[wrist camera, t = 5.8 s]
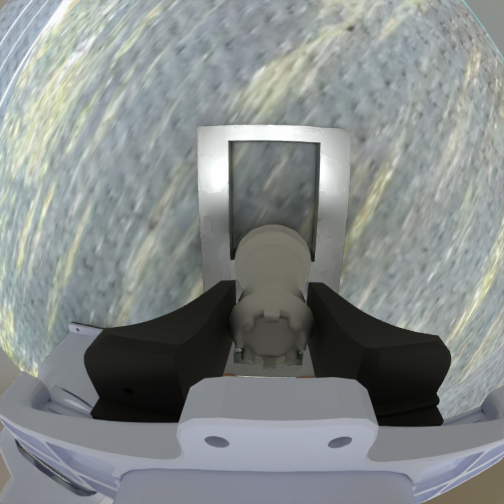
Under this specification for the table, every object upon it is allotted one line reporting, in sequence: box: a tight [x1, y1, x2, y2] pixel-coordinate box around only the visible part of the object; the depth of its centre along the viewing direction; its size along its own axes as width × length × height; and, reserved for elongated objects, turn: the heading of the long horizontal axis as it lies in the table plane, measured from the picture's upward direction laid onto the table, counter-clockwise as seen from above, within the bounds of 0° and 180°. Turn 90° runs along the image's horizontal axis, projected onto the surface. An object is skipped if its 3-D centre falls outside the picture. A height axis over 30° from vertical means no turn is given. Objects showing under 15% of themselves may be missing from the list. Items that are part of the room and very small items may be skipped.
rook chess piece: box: [228, 225, 315, 370], centre depth 13 cm, size 4×4×8 cm
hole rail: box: [198, 125, 351, 378], centre depth 21 cm, size 10×29×2 cm, turn 0°
